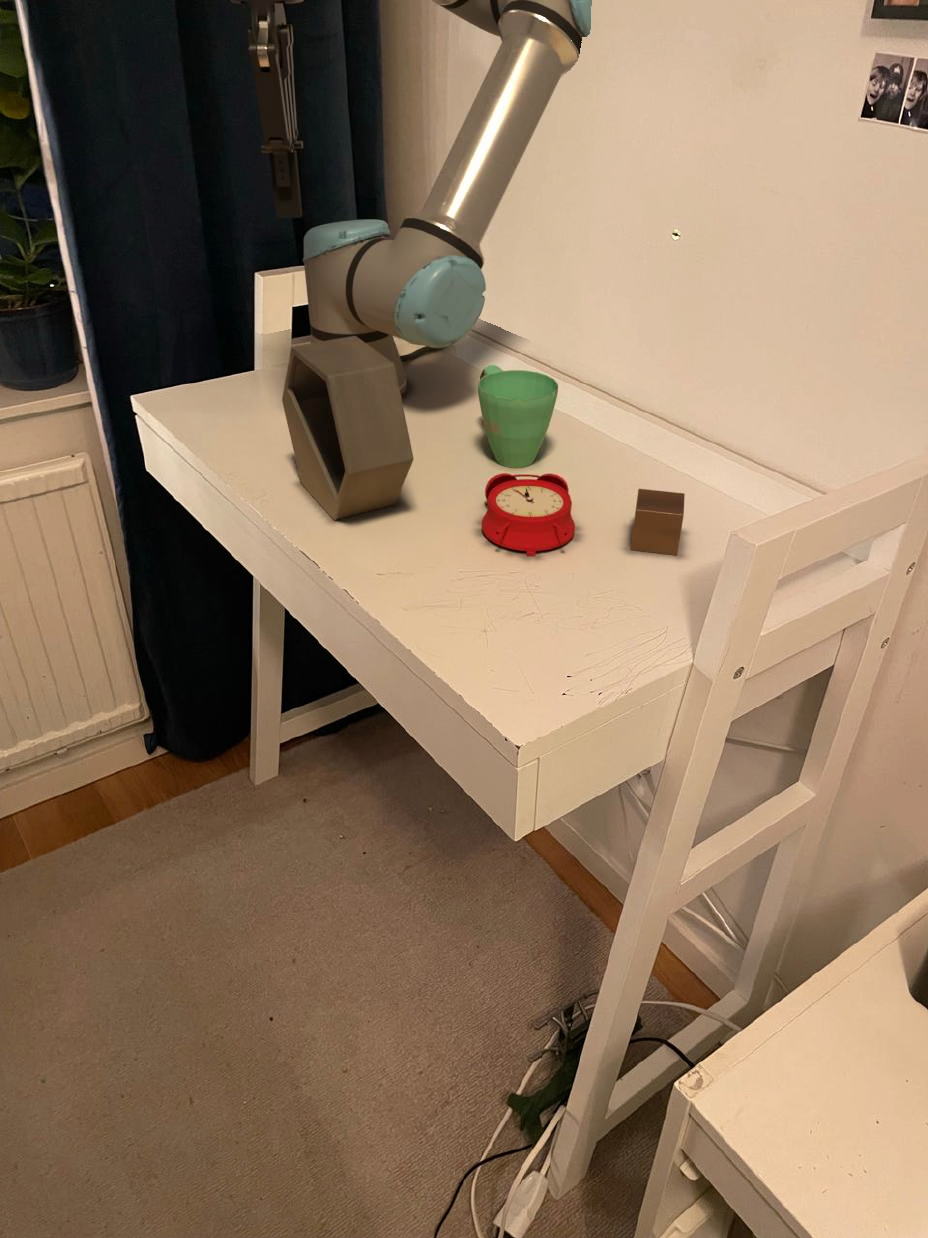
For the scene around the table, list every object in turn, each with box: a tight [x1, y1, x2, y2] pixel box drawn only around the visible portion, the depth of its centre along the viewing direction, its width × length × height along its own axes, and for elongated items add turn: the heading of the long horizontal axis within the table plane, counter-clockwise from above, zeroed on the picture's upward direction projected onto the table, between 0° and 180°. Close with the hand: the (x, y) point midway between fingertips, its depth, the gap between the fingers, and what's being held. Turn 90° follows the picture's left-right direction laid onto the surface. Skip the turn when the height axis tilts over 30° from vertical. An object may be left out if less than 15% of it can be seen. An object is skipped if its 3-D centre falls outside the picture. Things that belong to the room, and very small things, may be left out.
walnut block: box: [630, 488, 686, 556], centre depth 102 cm, size 5×5×5 cm
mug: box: [477, 364, 559, 469], centre depth 118 cm, size 15×10×10 cm
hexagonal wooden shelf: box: [281, 336, 414, 521], centre depth 106 cm, size 17×8×21 cm
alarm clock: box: [481, 472, 576, 557], centre depth 105 cm, size 10×6×15 cm
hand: (289, 216), depth 103 cm, fingers closed
